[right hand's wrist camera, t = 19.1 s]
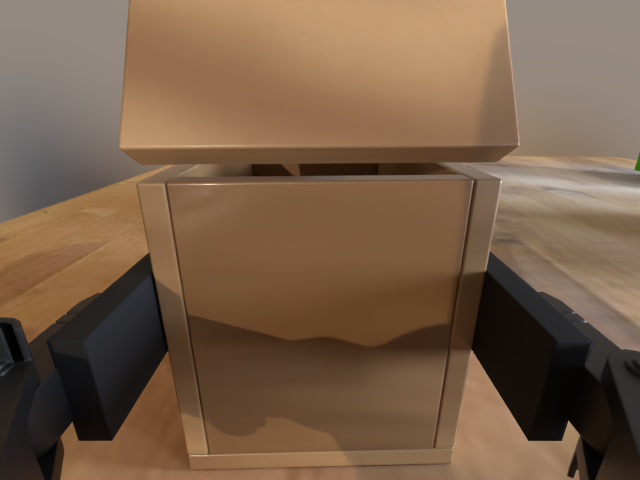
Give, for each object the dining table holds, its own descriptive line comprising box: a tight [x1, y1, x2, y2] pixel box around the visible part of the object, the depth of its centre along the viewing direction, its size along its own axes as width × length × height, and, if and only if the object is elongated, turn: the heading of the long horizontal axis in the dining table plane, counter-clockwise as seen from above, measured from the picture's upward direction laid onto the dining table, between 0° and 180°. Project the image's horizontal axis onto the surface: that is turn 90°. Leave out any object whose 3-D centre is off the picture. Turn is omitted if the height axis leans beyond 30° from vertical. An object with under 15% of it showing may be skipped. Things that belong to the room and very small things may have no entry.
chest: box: [136, 162, 502, 470], centre depth 18 cm, size 14×9×10 cm, turn 1°
